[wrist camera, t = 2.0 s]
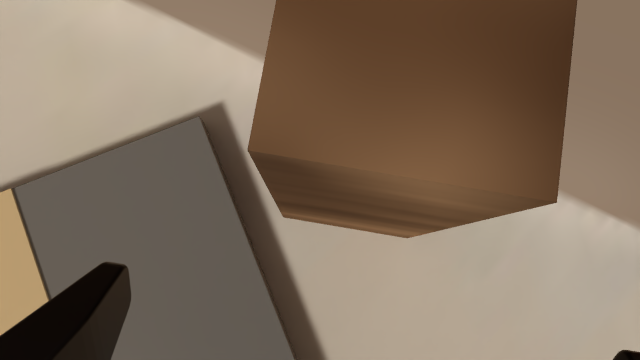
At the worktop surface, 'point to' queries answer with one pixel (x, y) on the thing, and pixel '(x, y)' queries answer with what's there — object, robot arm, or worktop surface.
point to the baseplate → (145, 249)
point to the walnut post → (413, 110)
